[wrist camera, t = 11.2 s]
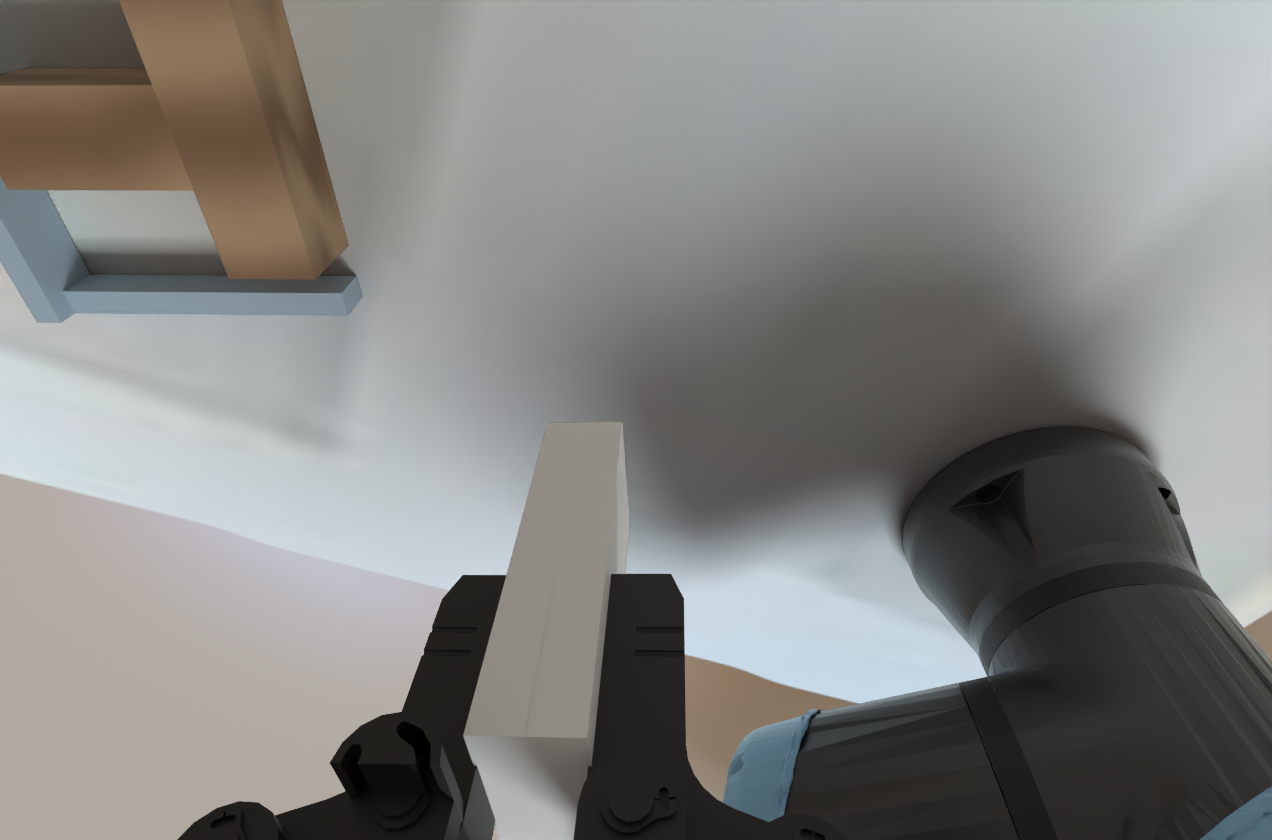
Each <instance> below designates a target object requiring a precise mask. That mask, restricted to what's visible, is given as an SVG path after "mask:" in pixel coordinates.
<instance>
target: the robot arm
mask: <svg viewBox="0 0 1272 840" xmlns="http://www.w3.org/2000/svg"><path fill="white" fill-rule="evenodd" d="M629 525H630V520H629V507H628V493H627V479H626V465H625V452H624V438H623V424H622V422H556V423H547V427H546V431H545V434H544V438H543V442H542V445H541V449H540V453H539V456H538V460H537V464H536V468H535V471H534V475H533V479H532V482H531V486H530V490H529V494H528V497H527V501H526V505H525V508H524V512H523V516H522V519H521V523H520V527H519V531H518V534H517V538H516V542H515V545H514V549H513V553H512V556H511V560H510V564H509V568H508V571H507V575H463V576H462V577H461V578H460V579H459V580H458V581H457V583H456V584H455V585H454V586H453V587H452V588H451V590H450V591H449V592H448V593H447V594H446V595H445V597H444V598H443V599H442V601H441V604H440V607H439V610H438V612H437V615H436V618H435V621H434V623H433V626H432V629H433V630H432V632H431V633H430V635H429V637H428V640H427V643H426V646H425V648H424V655H423V656H422V657H421V660H420V662H419V665H418V668H417V671H416V674H415V676H414V679H413V682H412V685H411V688H410V690H409V693H408V696H407V699H406V702H405V704H404V707H403V710H402V712H399V713H393V714H386V715H382V716H379V717H377V718H375V719H374V720H371V721H370V722H367V723H366V724H363V725H362V726H360V727H359V728H358V729H357V730H356V731H355V732H354V733H353V734H351V735H350V736H349V737H348V738H347V739H346V740H345V741H344V742H343V743H342V744H341V746H340V747H339V749H338V751H337V752H336V754H335V755H334V757H333V759H332V760H331V762H330V764H331V766H332V767H333V769H334V771H335V772H336V774H337V776H338V778H339V780H340V781H341V783H342V785H343V787H344V788H345V790H346V791H345V792H343V793H341V794H339V795H336V796H334V797H332V798H329V799H327V800H323V801H320V802H317V803H314V804H310V805H307V806H304V807H301V808H298V809H295V810H291V811H288V812H285V813H282V814H279V815H274V814H273V813H272V812H271V811H270V810H268V809H267V808H265V807H264V806H262V805H261V804H260V803H255V802H241V801H239V802H236V803H233V804H229V805H226V806H222V807H219V808H217V809H215V810H213V811H212V812H210V813H209V814H207V815H205V816H204V817H202V818H201V819H199V820H198V821H196V822H194V823H193V824H192V825H191V826H190V827H189V828H188V829H187V830H186V832H185V833H184V834H183V835H182V836H181V837H180V838H179V839H178V840H492V835H493V830H494V826H495V829H496V832H497V834H498V838H499V840H1272V661H1271V660H1270V659H1269V657H1268V656H1267V655H1266V654H1265V653H1264V651H1263V650H1262V649H1261V648H1260V647H1259V646H1258V644H1257V643H1256V642H1255V641H1254V639H1253V638H1252V637H1251V636H1250V635H1249V634H1248V632H1247V631H1246V630H1245V629H1244V627H1243V626H1242V625H1241V624H1240V623H1239V621H1238V620H1237V619H1236V618H1235V617H1234V615H1233V614H1232V613H1231V612H1230V611H1229V609H1228V608H1227V607H1226V606H1225V605H1224V604H1223V603H1222V601H1221V600H1220V599H1219V598H1218V597H1217V595H1216V594H1215V593H1214V592H1213V590H1212V589H1211V588H1210V586H1209V585H1208V584H1207V583H1206V581H1205V580H1204V579H1203V577H1202V576H1201V573H1200V570H1199V567H1198V564H1197V561H1196V558H1195V554H1194V551H1193V548H1192V545H1191V542H1190V539H1189V536H1188V533H1187V530H1186V527H1185V524H1184V522H1183V519H1182V517H1181V515H1180V508H1179V505H1178V501H1177V498H1176V496H1175V493H1174V491H1173V489H1172V487H1171V486H1170V484H1169V482H1168V481H1167V479H1166V478H1165V477H1164V476H1163V474H1162V473H1161V472H1160V471H1159V470H1158V469H1157V468H1156V467H1155V465H1154V464H1153V463H1152V462H1151V461H1150V460H1149V459H1148V458H1147V457H1146V455H1145V454H1144V453H1143V452H1142V451H1141V450H1139V449H1138V448H1137V447H1136V446H1134V445H1133V444H1131V443H1130V442H1128V441H1126V440H1124V439H1122V438H1120V437H1118V436H1115V435H1112V434H1109V433H1106V432H1102V431H1098V430H1092V429H1084V428H1049V429H1041V430H1035V431H1029V432H1025V433H1020V434H1016V435H1013V436H1009V437H1006V438H1003V439H1000V440H997V441H995V442H992V443H990V444H987V445H985V446H983V447H981V448H978V449H976V450H974V451H972V452H970V453H969V454H967V455H965V456H963V457H962V458H960V459H958V460H957V461H955V462H954V463H952V464H951V465H950V466H948V467H947V468H945V469H944V470H943V471H942V472H940V473H939V474H938V475H937V476H936V477H935V478H934V479H933V480H932V481H930V482H929V484H928V485H927V486H926V487H925V488H924V489H923V490H922V492H921V493H920V494H919V495H918V497H917V498H916V500H915V501H914V503H913V505H912V506H911V508H910V510H909V512H908V515H907V517H906V520H905V524H904V528H903V538H902V539H903V548H904V552H905V555H906V558H907V560H908V563H909V566H910V568H911V571H912V573H913V576H914V578H915V581H916V582H917V584H918V586H919V588H920V589H921V591H922V592H923V593H924V595H925V596H926V597H927V598H928V599H929V600H930V601H931V602H932V603H934V604H935V605H936V607H937V608H938V609H939V610H940V612H941V613H942V614H943V615H944V616H945V618H946V619H947V620H948V621H949V622H950V623H951V625H952V626H953V627H954V628H955V629H956V630H957V631H958V633H959V634H960V635H961V636H962V637H963V638H964V639H965V640H966V642H967V643H968V644H969V645H970V646H971V647H972V648H973V649H974V651H975V652H976V653H977V654H978V656H979V659H980V661H981V663H982V665H983V667H984V670H985V672H986V674H987V677H984V678H980V679H975V680H971V681H966V682H961V683H959V685H958V683H956V684H951V685H946V686H942V687H937V688H932V689H927V690H923V691H918V692H913V693H908V694H904V695H899V696H894V697H889V698H884V699H880V700H875V701H870V702H865V703H861V704H856V705H851V706H847V707H842V708H837V709H832V710H828V711H823V712H822V711H821V710H817V709H813V710H809V711H808V712H806V713H805V714H804V715H803V716H801V717H797V718H794V719H789V720H786V721H782V722H778V723H775V724H771V725H768V726H764V727H760V728H758V729H756V730H754V731H753V732H751V733H750V734H749V735H747V736H746V737H745V738H744V739H743V740H742V741H741V743H740V744H739V746H738V747H737V749H736V751H735V753H734V755H733V758H732V761H731V763H730V767H729V771H728V775H727V782H726V785H725V791H724V799H723V803H722V802H721V801H718V800H717V799H716V798H714V797H713V796H712V795H711V794H710V793H709V792H708V791H706V790H705V789H704V788H703V787H702V785H701V784H700V782H699V781H698V779H697V778H696V777H695V775H694V773H693V771H692V768H691V766H690V764H689V761H688V758H687V751H686V731H685V657H684V656H685V655H684V598H683V596H682V594H681V592H680V591H679V589H678V587H677V585H676V583H675V581H674V579H673V577H672V575H671V574H626V563H627V550H628V538H629Z"/></svg>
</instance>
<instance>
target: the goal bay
mask: <svg viewBox="0 0 1272 840" xmlns="http://www.w3.org/2000/svg"><path fill="white" fill-rule="evenodd" d="M0 261H1V263H2V265H3V266H4V268H5V270H6V271H7V273H8V275H9V276H10V278H11V280H12V281H13V283H14V285H15V286H16V288H17V290H18V291H19V293H20V295H21V296H22V298H23V300H24V301H25V303H26V305H27V306H28V308H29V310H30V311H31V313H32V315H33V316H34V318H35V320H36V321H37V322H42V323H61V322H63V321H64V320H66V319H67V318H69V317H70V316H72V315H73V314H75V313H114V314H241V315H349V313H350V312H351V311H352V310H353V308H354V307H355V306H356V305H357V303H358V302H359V301H360V300H361V298H362V294H361V291H360V287H359V283H358V280H357V276H319V277H318V278H317V279H316V280H297V279H229V278H228V276H227V275H108V274H90V273H89V271H88V269H87V267H86V265H85V263H84V261H83V259H82V258H81V256H80V254H79V252H78V250H77V248H76V246H75V244H74V242H73V240H72V238H71V237H70V235H69V233H68V231H67V229H66V227H65V225H64V223H63V221H62V219H61V217H60V216H59V214H58V212H57V210H56V208H55V206H54V204H53V202H52V200H51V198H50V196H49V195H48V193H47V191H46V190H8V189H7V187H6V186H5V184H4V182H3V180H2V178H1V177H0Z"/></svg>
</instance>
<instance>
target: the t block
mask: <svg viewBox="0 0 1272 840" xmlns="http://www.w3.org/2000/svg"><path fill="white" fill-rule="evenodd" d="M119 3H120V5H121V8H122V10H123V13H124V15H125V18H126V20H127V23H128V25H129V28H130V30H131V33H132V36H133V38H134V41H135V43H136V46H137V48H138V51H139V53H140V56H141V58H142V61H143V63H144V66H145V67H62V68H24V69H20V70H16V71H11V72H7V73H3V74H0V177H1V178H2V180H3V182H4V184H5V186H6V187H7V189H8V190H194V192H195V195H196V197H197V200H198V202H199V205H200V208H201V210H202V213H203V215H204V218H205V220H206V223H207V225H208V228H209V230H210V233H211V235H212V238H213V240H214V243H215V245H216V248H217V251H218V253H219V256H220V258H221V261H222V263H223V266H224V268H225V271H226V273H227V276H228V278H229V279H297V280H316V279H317V278H318V277H319V276H320V275H321V274H322V273H323V272H324V270H325V269H326V268H327V267H328V266H329V265H330V264H331V263H332V262H333V261H334V260H335V259H336V258H337V257H338V256H339V255H340V254H341V253H342V252H343V251H344V250H345V249H346V248H347V247H348V246H349V245H348V241H347V238H346V234H345V230H344V227H343V223H342V219H341V216H340V212H339V208H338V205H337V201H336V197H335V194H334V190H333V186H332V183H331V179H330V175H329V172H328V168H327V164H326V161H325V157H324V153H323V150H322V146H321V142H320V139H319V135H318V131H317V128H316V124H315V120H314V117H313V113H312V109H311V106H310V102H309V98H308V95H307V91H306V87H305V84H304V80H303V76H302V73H301V69H300V65H299V62H298V58H297V54H296V51H295V47H294V43H293V40H292V36H291V32H290V29H289V25H288V21H287V18H286V14H285V10H284V7H283V3H282V0H119Z"/></svg>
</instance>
